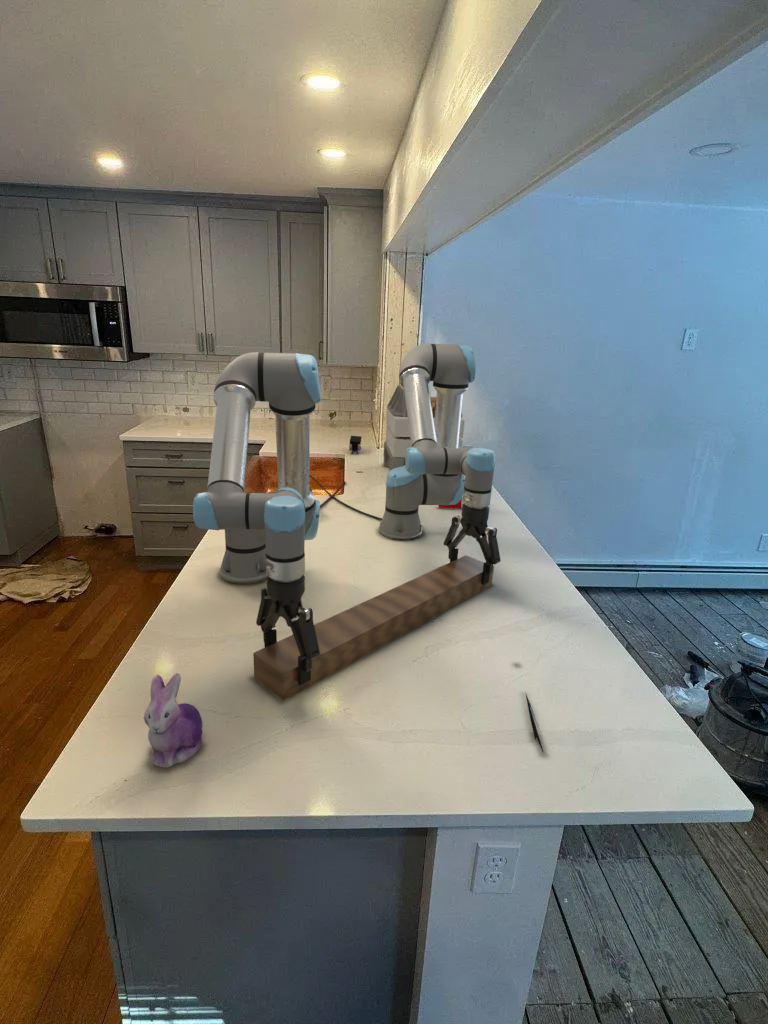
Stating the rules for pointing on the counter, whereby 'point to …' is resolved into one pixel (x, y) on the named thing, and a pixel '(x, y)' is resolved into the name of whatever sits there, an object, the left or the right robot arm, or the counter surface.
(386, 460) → the grey slatted crate
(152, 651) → the counter surface
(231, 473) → the left robot arm
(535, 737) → the feather
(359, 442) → the figurine character
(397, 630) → the wide beam
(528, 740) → the counter surface
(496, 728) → the counter surface
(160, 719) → the figurine
